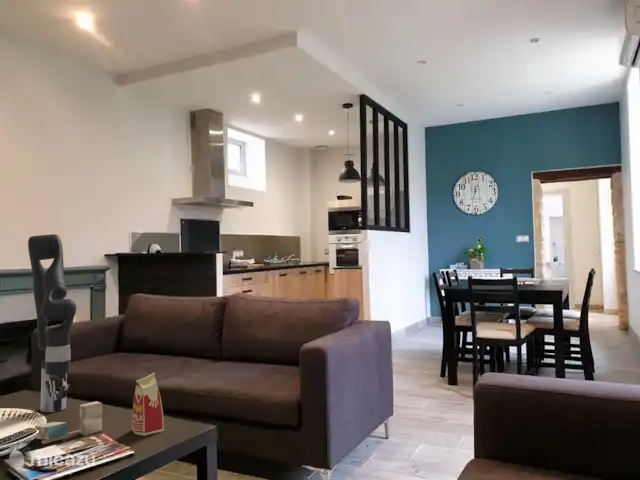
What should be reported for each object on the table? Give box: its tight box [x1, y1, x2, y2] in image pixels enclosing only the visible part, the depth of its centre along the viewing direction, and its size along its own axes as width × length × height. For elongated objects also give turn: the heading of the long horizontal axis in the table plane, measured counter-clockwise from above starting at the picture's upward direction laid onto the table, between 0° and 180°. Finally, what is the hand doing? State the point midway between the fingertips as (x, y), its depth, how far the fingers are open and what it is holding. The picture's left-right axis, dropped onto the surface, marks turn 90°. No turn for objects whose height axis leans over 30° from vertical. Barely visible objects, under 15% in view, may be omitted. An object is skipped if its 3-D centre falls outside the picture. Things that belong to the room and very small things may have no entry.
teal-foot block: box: [34, 421, 69, 440], centre depth 170 cm, size 4×6×10 cm
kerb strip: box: [40, 429, 80, 445], centre depth 173 cm, size 2×19×1 cm, turn 143°
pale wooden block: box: [78, 400, 103, 437], centre depth 176 cm, size 4×6×10 cm, turn 143°
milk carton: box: [131, 372, 165, 437], centre depth 178 cm, size 9×9×20 cm
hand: (57, 410), depth 168 cm, fingers closed
